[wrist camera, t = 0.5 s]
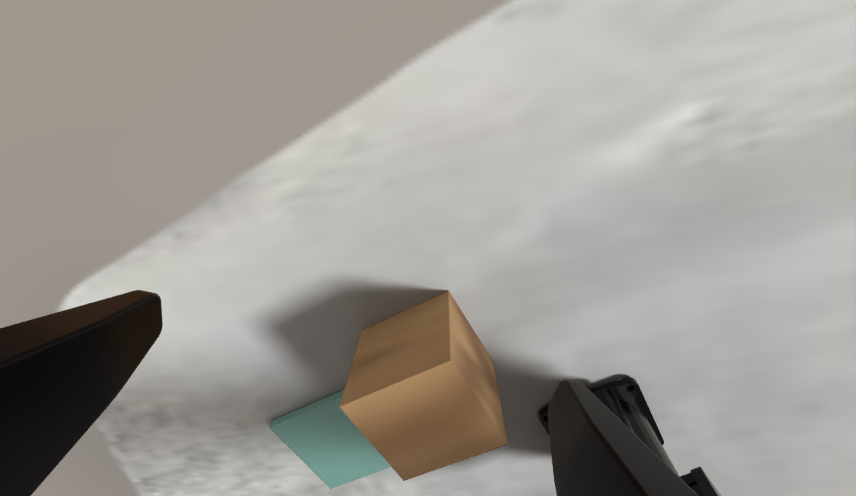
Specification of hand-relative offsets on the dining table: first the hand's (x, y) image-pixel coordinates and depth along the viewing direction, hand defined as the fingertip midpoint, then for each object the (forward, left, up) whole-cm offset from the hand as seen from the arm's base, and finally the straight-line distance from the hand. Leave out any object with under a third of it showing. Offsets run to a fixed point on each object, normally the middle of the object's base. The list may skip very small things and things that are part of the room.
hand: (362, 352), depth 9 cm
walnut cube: (-10, +4, -13) cm, 17 cm away
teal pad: (-14, +13, -13) cm, 23 cm away
